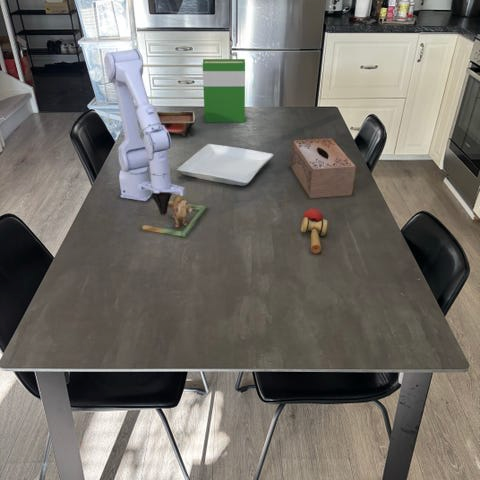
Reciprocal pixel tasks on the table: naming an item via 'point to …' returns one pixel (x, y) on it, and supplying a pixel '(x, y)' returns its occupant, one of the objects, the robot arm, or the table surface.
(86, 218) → the table surface
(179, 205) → the lion figurine
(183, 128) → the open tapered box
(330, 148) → the tissue box cover
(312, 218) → the kendama
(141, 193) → the robot arm
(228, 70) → the hardback book
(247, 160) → the square plate
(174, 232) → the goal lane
